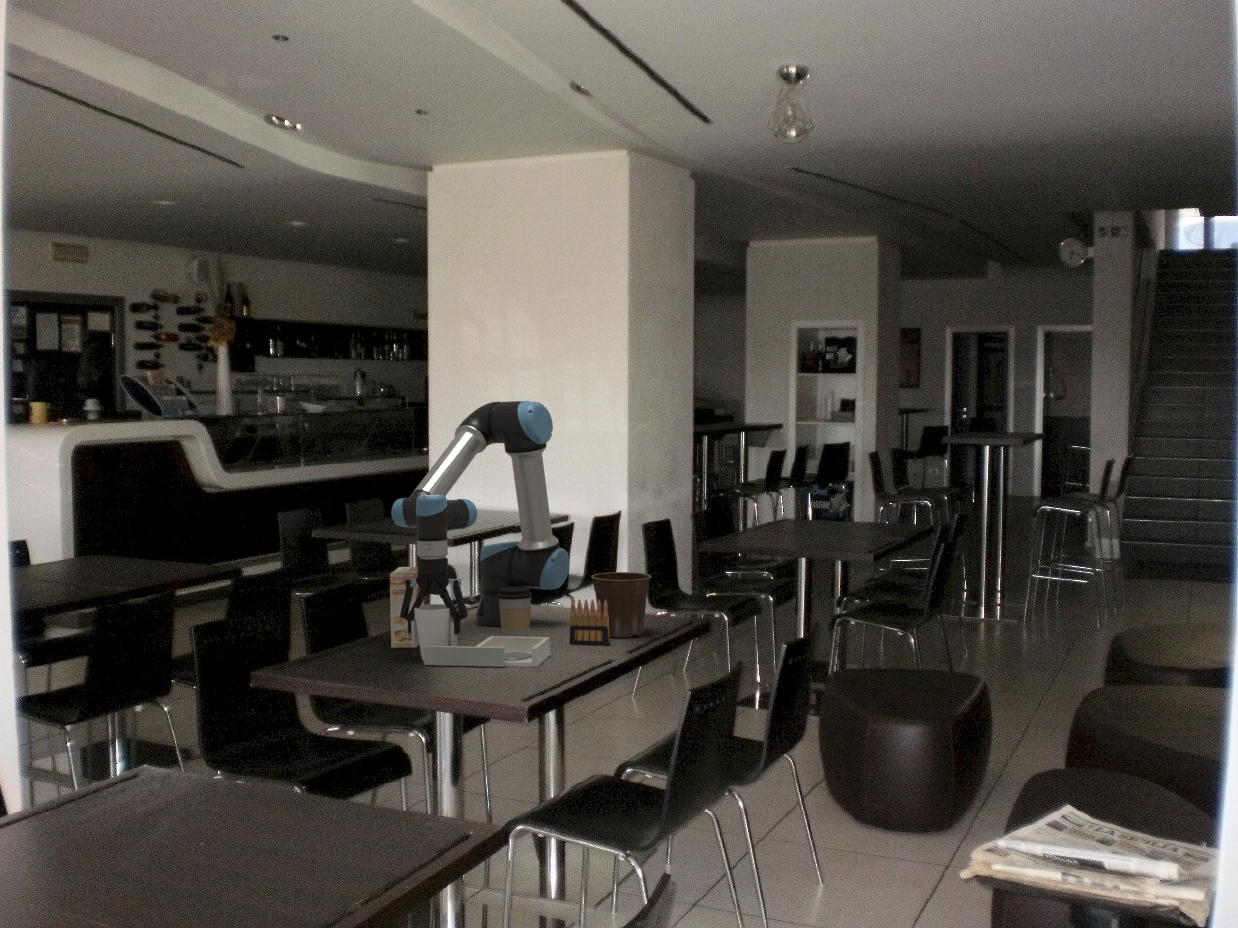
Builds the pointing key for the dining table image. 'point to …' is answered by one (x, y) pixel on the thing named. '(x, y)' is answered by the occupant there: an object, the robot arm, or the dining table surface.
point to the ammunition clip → (589, 625)
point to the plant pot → (623, 601)
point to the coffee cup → (515, 610)
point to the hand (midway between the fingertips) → (434, 646)
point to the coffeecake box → (397, 592)
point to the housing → (521, 649)
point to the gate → (464, 656)
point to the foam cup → (433, 625)
